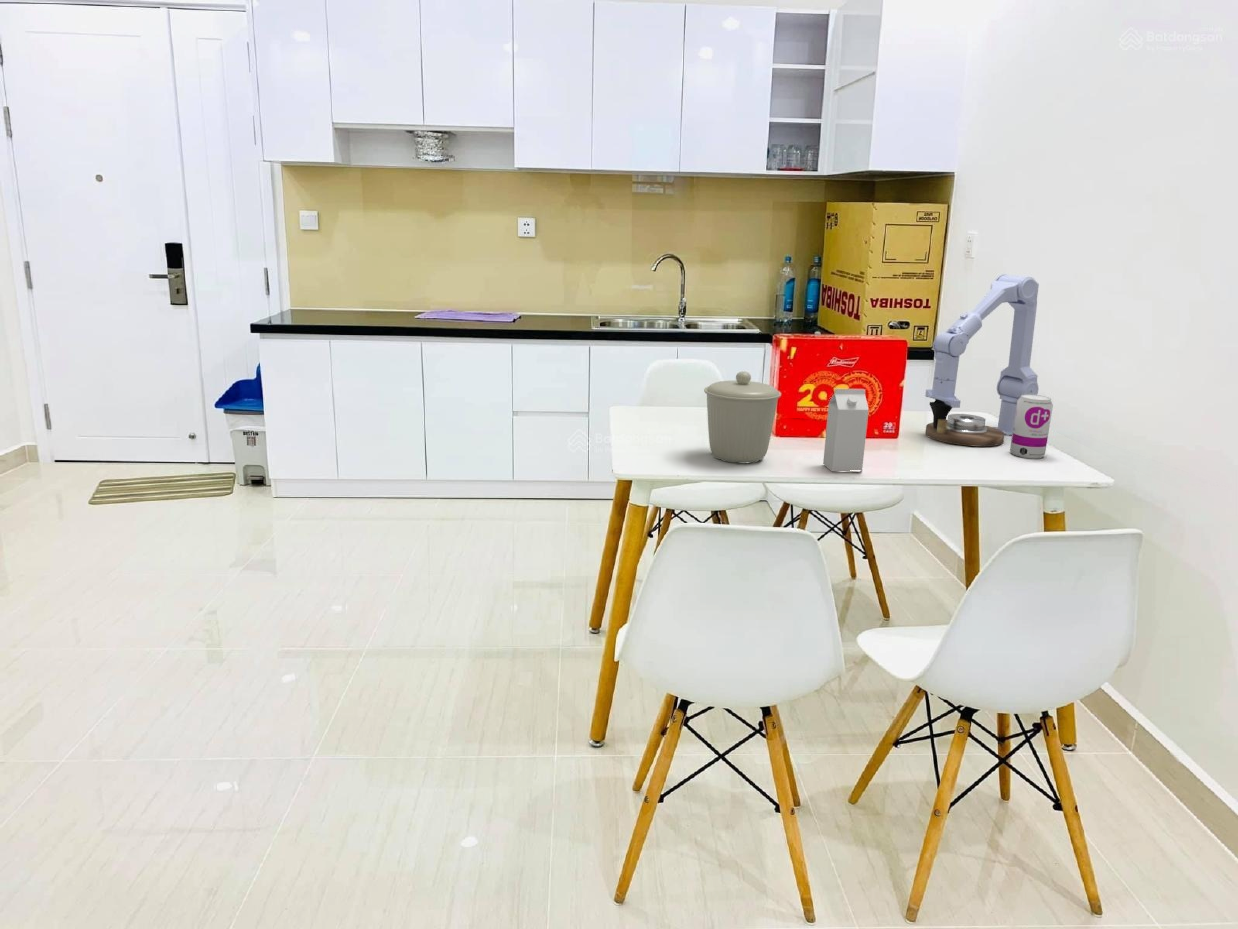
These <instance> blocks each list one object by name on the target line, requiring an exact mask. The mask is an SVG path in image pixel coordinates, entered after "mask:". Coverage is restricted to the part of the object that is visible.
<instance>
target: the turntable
mask: <svg viewBox="0 0 1238 929" xmlns="http://www.w3.org/2000/svg"><path fill="white" fill-rule="evenodd" d="M947 421H948V419H947V418H946V419H938V424H937V429H935V428H934V427H933V422H929V423H927V424H926V426H925V435H926V436H927V437H928V438H931V439H933V440H936V441H938V442H943V443H947V444H953V445H958V446H959V445H960V446H969V447H971V446H972V447H992V446H998V445H1001V444H1003V443H1004V440H1005V436H1006V435H1005V434H1004V432H1003V431H1001V430H999V429H996V428H993V427H994V426H990V425H989V426H988V425H985V428H987V433H985V434H980V435H969V434H960V433H955V432H950V431H947V430H946V429H947Z"/></svg>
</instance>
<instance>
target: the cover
mask: <svg viewBox="0 0 1238 929" xmlns="http://www.w3.org/2000/svg"><path fill="white" fill-rule="evenodd" d="M947 420H948V421H947V429H946V430H947V431H950V432H955V433H960V434H969V435H980V434H985V433H987V428H985V426H986V418H984V417H982V416H979V415H974V414H966V413H950V414H948V415H947Z"/></svg>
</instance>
